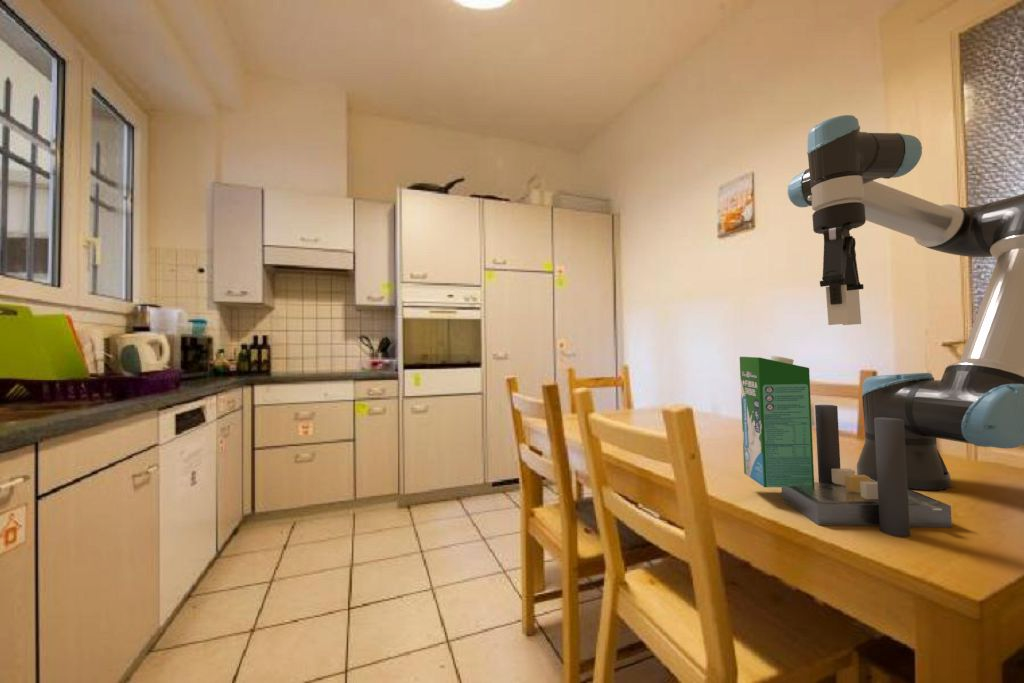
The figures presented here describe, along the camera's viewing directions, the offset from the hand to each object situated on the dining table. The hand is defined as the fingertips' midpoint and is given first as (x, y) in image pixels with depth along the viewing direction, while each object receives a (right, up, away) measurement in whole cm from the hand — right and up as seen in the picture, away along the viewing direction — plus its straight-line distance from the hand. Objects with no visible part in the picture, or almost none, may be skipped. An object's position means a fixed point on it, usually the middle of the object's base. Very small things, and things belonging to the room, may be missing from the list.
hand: (845, 324), depth 76 cm
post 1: (+3, -34, +8) cm, 35 cm away
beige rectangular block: (+1, -30, -4) cm, 30 cm away
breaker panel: (+2, -34, 0) cm, 34 cm away
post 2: (+1, -34, -9) cm, 35 cm away
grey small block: (+2, -30, +4) cm, 31 cm away
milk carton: (-7, -31, +9) cm, 33 cm away
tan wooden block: (+2, -30, 0) cm, 30 cm away
